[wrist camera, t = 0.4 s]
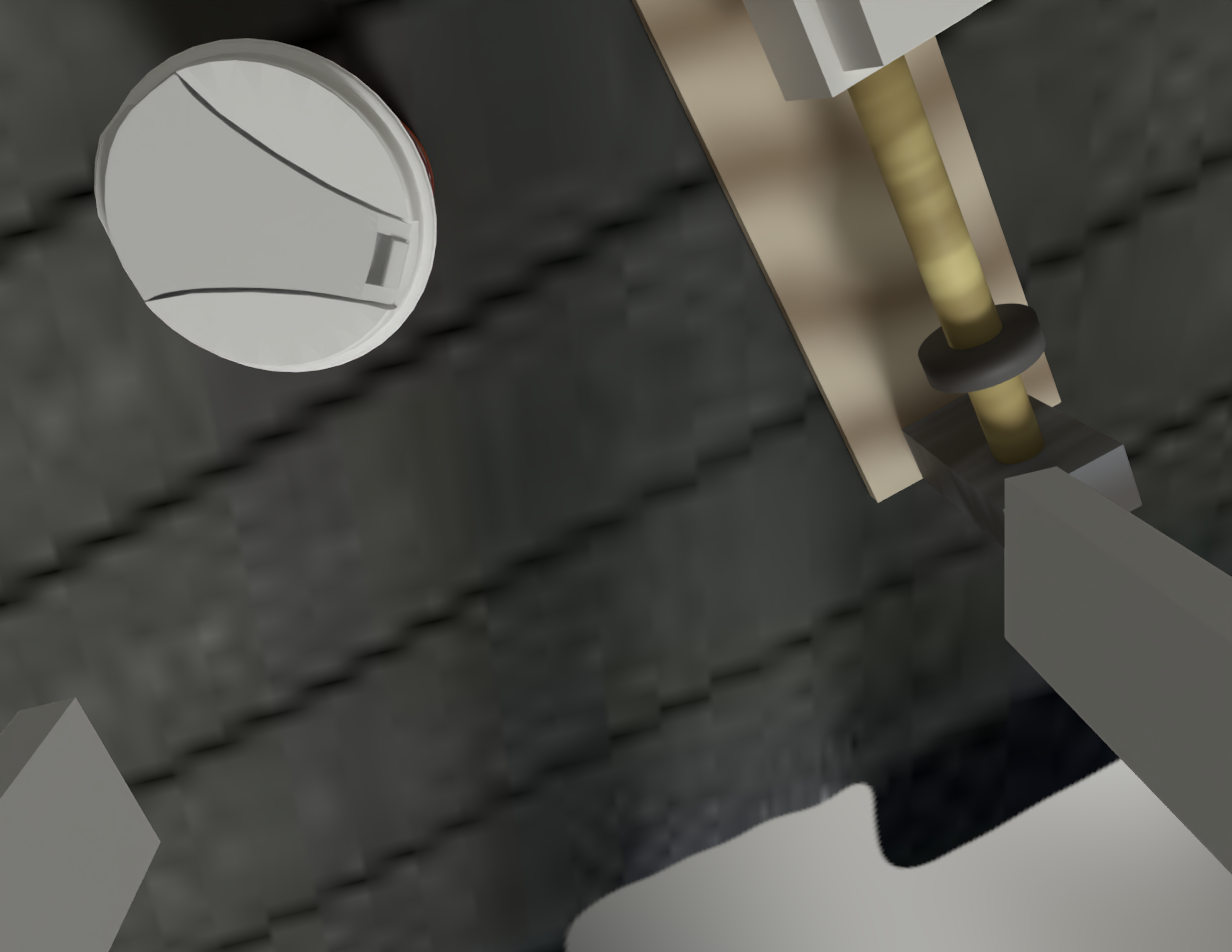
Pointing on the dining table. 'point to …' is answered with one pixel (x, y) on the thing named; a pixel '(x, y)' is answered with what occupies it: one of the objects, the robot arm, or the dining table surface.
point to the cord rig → (885, 265)
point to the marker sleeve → (844, 38)
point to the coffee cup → (267, 204)
